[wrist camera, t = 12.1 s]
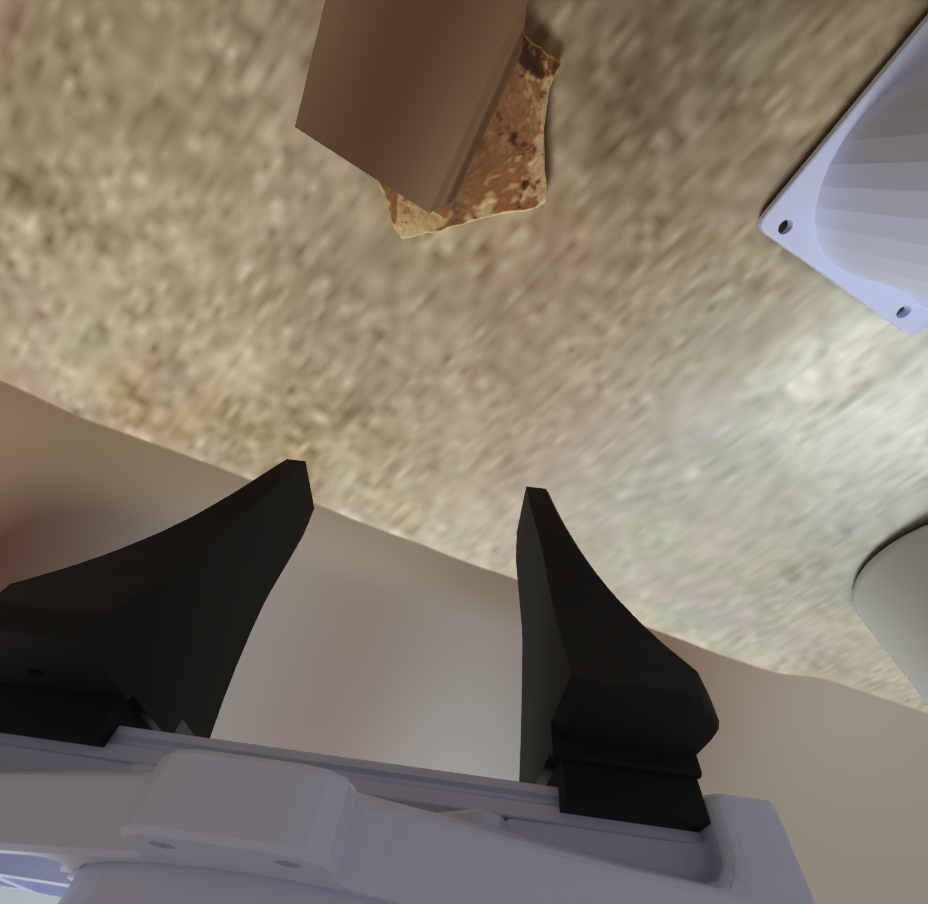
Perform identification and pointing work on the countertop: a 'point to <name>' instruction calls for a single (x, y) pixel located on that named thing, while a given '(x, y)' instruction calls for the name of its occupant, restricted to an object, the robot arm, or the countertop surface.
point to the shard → (496, 156)
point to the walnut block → (410, 87)
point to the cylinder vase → (899, 604)
